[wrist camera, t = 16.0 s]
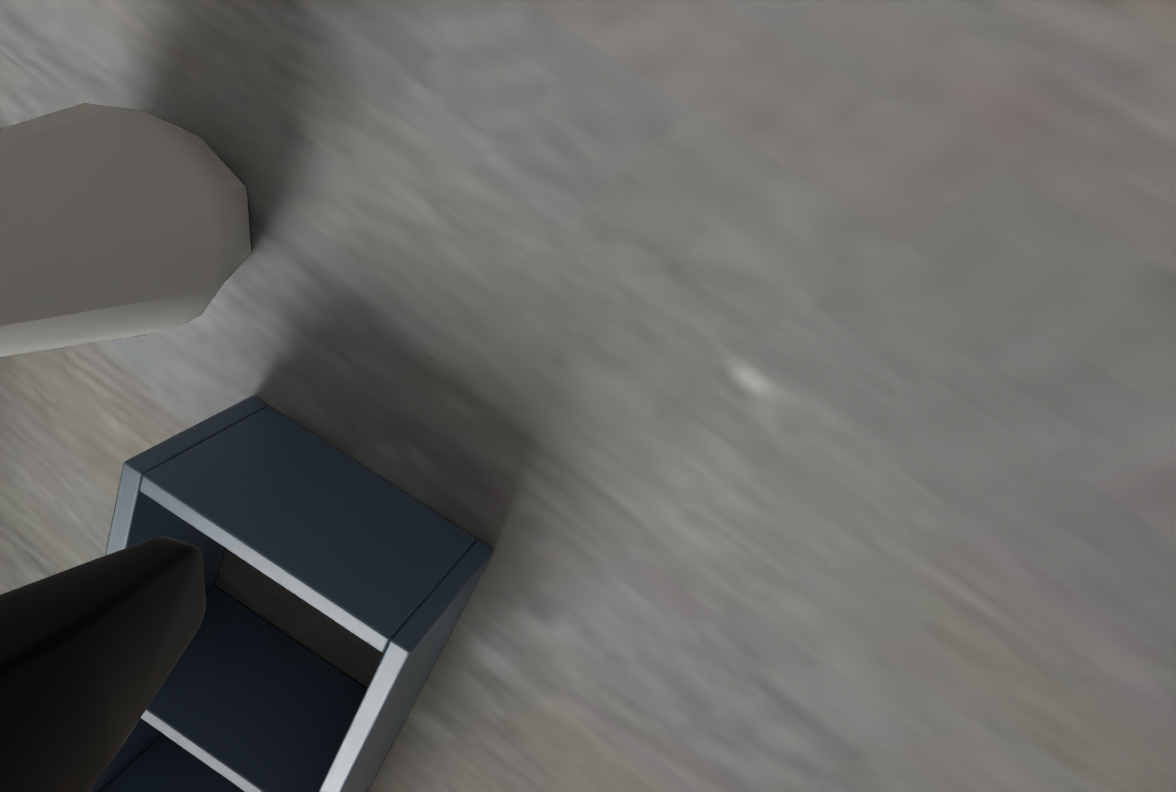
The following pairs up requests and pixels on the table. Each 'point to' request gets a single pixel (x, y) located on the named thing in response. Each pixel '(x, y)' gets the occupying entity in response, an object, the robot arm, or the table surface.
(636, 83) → the table surface
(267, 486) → the divided storage tray
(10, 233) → the salt shaker
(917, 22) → the table surface
